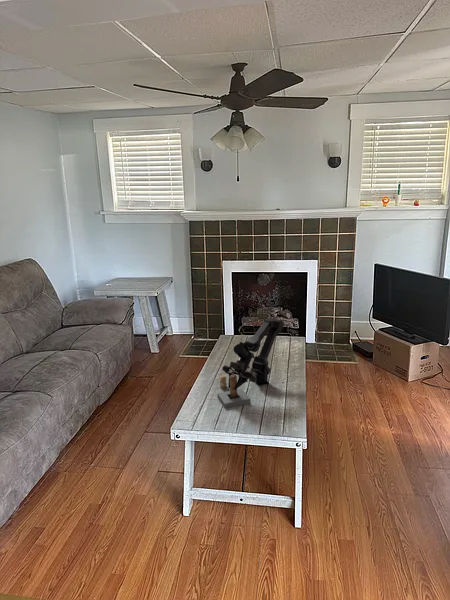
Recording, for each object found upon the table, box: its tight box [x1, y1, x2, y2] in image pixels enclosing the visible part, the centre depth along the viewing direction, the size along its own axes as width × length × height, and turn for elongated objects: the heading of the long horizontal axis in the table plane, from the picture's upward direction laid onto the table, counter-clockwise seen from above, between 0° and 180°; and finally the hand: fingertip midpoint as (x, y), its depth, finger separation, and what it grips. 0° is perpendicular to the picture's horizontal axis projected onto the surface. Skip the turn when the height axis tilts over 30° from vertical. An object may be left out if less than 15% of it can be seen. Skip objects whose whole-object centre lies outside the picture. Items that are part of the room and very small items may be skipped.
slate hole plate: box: [216, 388, 251, 409], centre depth 221 cm, size 14×12×2 cm
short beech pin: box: [219, 374, 228, 389], centre depth 236 cm, size 4×4×6 cm
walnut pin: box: [229, 374, 238, 399], centre depth 220 cm, size 4×4×13 cm
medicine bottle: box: [238, 357, 253, 373], centre depth 257 cm, size 7×7×12 cm
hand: (231, 388), depth 219 cm, fingers closed on walnut pin, 3 cm apart
